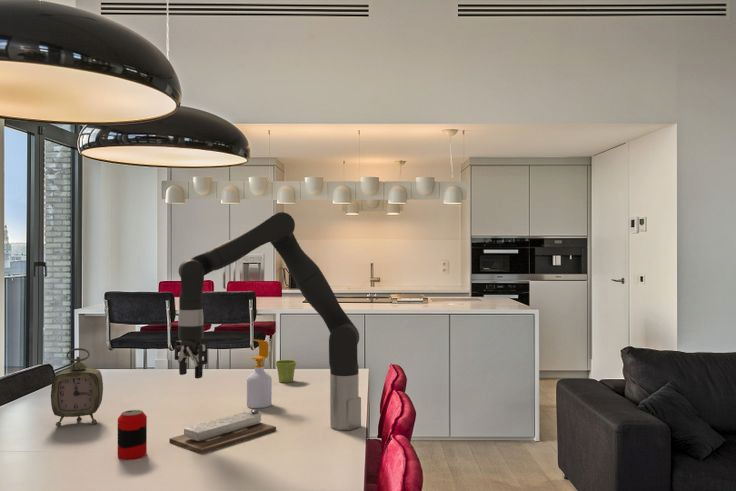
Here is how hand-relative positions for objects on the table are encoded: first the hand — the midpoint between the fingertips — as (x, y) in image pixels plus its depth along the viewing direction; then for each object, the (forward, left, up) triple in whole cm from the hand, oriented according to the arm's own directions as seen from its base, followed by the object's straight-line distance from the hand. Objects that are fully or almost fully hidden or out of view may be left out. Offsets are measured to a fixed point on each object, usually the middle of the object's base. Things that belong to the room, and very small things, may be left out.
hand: (190, 376), depth 185 cm
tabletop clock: (+40, +16, -18) cm, 47 cm away
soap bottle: (+11, -37, -18) cm, 43 cm away
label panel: (-9, -6, -18) cm, 21 cm away
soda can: (-3, +21, -18) cm, 28 cm away
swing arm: (-9, -7, -16) cm, 20 cm away
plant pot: (+33, -71, -19) cm, 80 cm away
